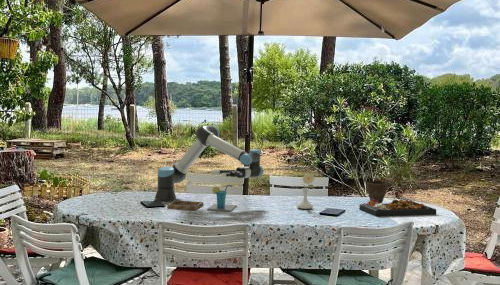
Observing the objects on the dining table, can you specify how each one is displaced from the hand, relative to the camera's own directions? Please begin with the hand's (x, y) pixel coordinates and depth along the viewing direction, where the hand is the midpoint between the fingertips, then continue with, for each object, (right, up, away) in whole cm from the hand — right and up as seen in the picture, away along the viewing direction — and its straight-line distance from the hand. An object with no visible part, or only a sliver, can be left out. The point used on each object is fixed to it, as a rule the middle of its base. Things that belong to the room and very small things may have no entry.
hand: (216, 173), depth 420 cm
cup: (+4, -23, +4) cm, 23 cm away
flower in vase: (+61, -25, +11) cm, 67 cm away
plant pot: (+115, -24, +38) cm, 124 cm away
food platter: (+124, -27, +7) cm, 127 cm away
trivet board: (+4, -24, +4) cm, 24 cm away
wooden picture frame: (-21, -23, +5) cm, 32 cm away
